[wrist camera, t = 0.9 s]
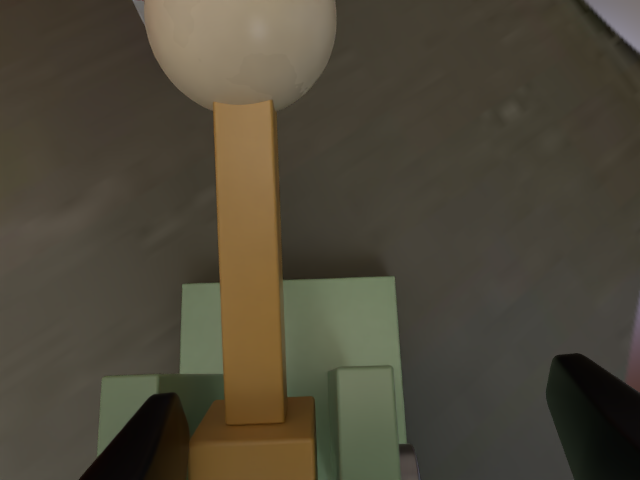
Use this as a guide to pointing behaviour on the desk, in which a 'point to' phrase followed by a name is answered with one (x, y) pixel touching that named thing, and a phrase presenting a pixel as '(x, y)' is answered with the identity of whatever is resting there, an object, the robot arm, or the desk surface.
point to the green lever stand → (299, 373)
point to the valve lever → (248, 214)
